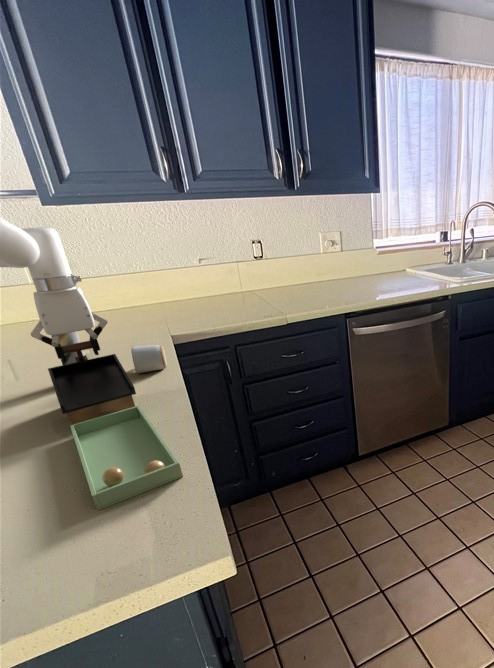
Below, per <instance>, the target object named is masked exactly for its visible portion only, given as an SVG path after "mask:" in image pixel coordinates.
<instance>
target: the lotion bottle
mask: <svg viewBox="0 0 494 668" xmlns="http://www.w3.org/2000/svg"><path fill="white" fill-rule="evenodd" d="M80 342H82V341H81V338H80V335H79V333H78V331H76V332H71V333H66V334H60V335H59V344H61V346H65V345H70V344H75V343H80ZM81 352H82V355H83V356H85V355H86V353H85V350H82V351H81ZM64 355H65V357H66V360H67V361H66V362H63V360H62V358H61V359H59V360H60V363H61V366H62V365H66V364H71V363H75V362H76V360H75V358H76V357H78V355H77V352H72V353H68V354H64Z"/></svg>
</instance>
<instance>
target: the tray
mask: <svg viewBox="0 0 494 668" xmlns="http://www.w3.org/2000/svg"><path fill="white" fill-rule="evenodd" d="M69 427H70V430H71V433H72V438H73V440H74V443H75V447H76V449H77V453H78V456H79V460H80V463H81V467H82V469H83V472H84V476H85V479H86V482H87V485H88V488H89V491H90V495H91V497H92V500H93V503H94V506H95V508H96V510H97V511H100V510H102V509H105V508H108V507H110V506H113V505H115V504H118V503H121V502H122V501H126V500H128V499H130V498H134V497H136V496H138V495H141V494H143V493H145V492H148V491H151V490H153V489H155V488H158V487H161V486H163V485H166V484H168V483H171V482H173V481H175V480H178V479H181V478H183V477H184V475H183V471H182V468H181V464H180V462H179V460H178V459H177V458H176V456H175V454H174V453H173V452H172V450H171V448H170V447H169V446H168V445H167V443H166V442H165V440H164V439H163V438H162V436H161V435H160V433H159V432H158V430H157V429H156V427H155V426H154V425H153V423H152V422H151V420H150V419H149V417H148V416H147V415H146V413H145V412H144V410H143V409H142V407H141V406H140V405H135V407H132V408H129V409H125V410H122V411H118V412H115V413H111V414H108V415H104V416H101V417H97V418H94V419H91V420H87V421H84V422H80V423H77V424H73V425H71V424H70V425H69ZM155 460H157V461H161V462H162V463H163V464H164V465H165V467H163V468H160V469H158V470H155V471H152V472H150V473H147V474H145V467H146V465H147V464H148V463H149V462H151V461H155ZM111 467H117V468H120V469H121V470H122V471H123V472H124V479H123V481H122V482H121V483H120V484H118V485H115V486H108V485H106V484H105V483H104V482H103V480H102V475H103V473H104V472H105V471H106V470H107V469H109V468H111Z"/></svg>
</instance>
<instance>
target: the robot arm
mask: <svg viewBox="0 0 494 668" xmlns="http://www.w3.org/2000/svg"><path fill="white" fill-rule="evenodd" d="M0 268H16V269H23V268H24V269H25V268H27V269H28V271H29V274H30V276H31V279H32V282H33V285H34V286H35V292H33V300H34V305H35V308H36V311H37V315H38V318H39V320H38V322H37V324H36V325H35V326H34V327H33V329H32V330H31V331H30V336H31V337H32V338H34V339H36V340H38V341H41V342H43V343H45V344H47V345H49V346H51V347H52V348H54V351H55V353H56V356H57V359H58V360H60V359H61V358H62V360H63V362H66V361H67V360H66V357H65V355H64V352H63V349H62V347H61V344H59V335H60V334H66V333H71V332H76V331H77V332H81V331H85V332H86V333H87V334H88V335H89V339H88V341H91V344H92V347H93V348H92V351H93V353H94V355H95V356H99V355H100V354H99V351H101V347H100V344H99V341H98V337H99V336H100V335H101V333H102V331H103V330H104V328H105V327H106V325H107V324H108V320H107V319H105V318H103V317H102V316H100V315H98V314H96V313H94V312H92V310H91V308H90V305H89V303H88V300H87V298H86V297H85V294H84V292H83V290H82V288H81V287H80V286H77V284H78V283H81V282H82V278H81V276H80V275H79V276H78V275H74V274H72V271H71V268H70V265H69V261H68V258H67V256H66V253H65V249H64V246H63V243H62V240H61V237H60V235H59V232H58V231H57V230H56V229H55V228H53V227H49V226H39V227H38V226H37V227H25V228H20V227H18V226H16V225H15V224H13V223H11V222H9V221H8V220H6V219H4V218H2V217H0ZM95 321H96V322H98V324H97V325H95V324H96V323H95ZM95 326H96V327H95ZM93 328H94V329H93ZM42 330H44V332H45V334H46V335H48V336H46V335H44V334H43V333H41V332H42ZM49 336H51V337H49Z"/></svg>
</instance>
